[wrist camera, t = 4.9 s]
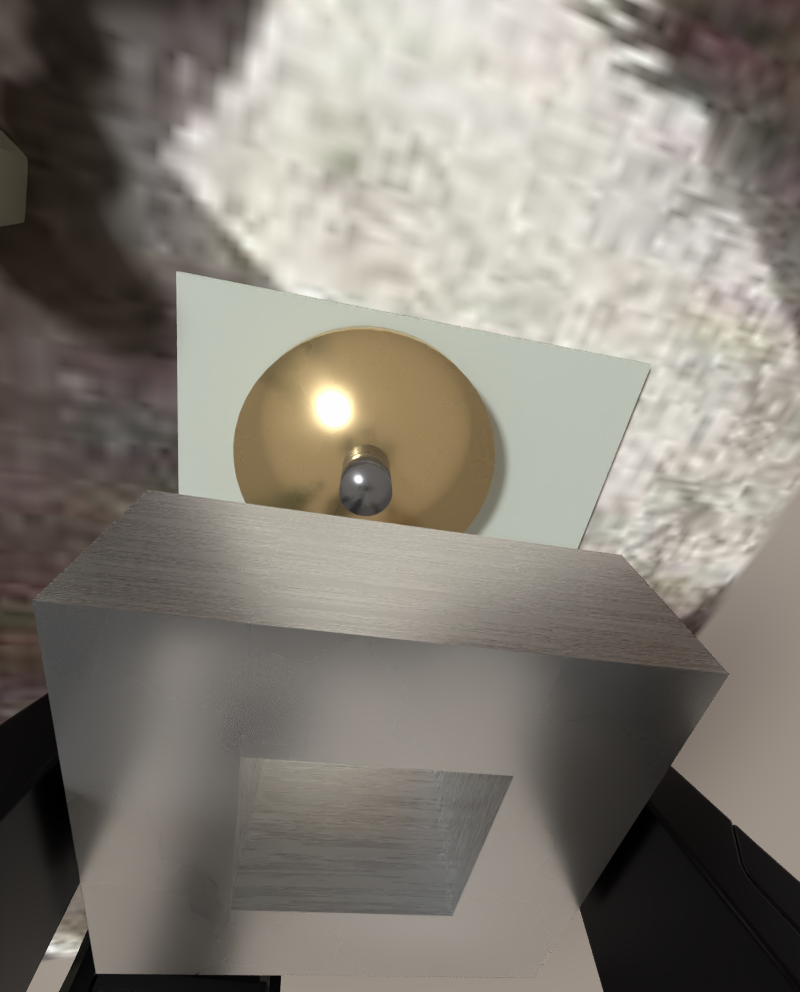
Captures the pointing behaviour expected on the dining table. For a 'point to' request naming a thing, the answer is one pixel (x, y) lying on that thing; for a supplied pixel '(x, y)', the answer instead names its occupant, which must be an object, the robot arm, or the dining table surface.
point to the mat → (478, 354)
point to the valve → (12, 182)
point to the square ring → (351, 738)
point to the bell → (366, 432)
